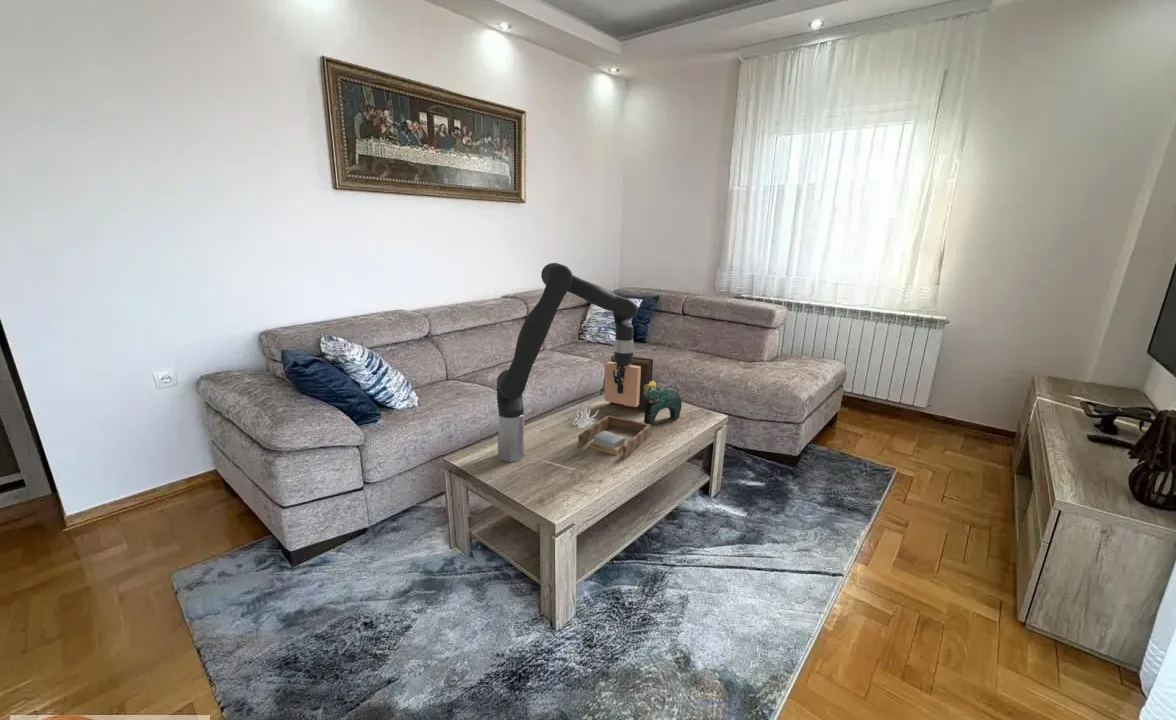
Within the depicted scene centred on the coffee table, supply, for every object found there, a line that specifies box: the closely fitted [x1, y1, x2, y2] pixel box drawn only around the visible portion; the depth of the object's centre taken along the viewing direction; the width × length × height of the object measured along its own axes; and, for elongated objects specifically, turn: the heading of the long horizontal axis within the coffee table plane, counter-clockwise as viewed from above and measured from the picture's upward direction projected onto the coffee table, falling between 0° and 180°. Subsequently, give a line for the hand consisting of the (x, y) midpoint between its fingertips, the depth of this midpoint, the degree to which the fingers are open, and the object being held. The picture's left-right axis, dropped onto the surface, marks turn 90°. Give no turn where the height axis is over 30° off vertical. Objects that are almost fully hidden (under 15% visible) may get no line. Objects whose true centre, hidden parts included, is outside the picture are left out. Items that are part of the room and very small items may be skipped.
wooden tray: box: [577, 414, 653, 460], centre depth 199 cm, size 25×20×5 cm
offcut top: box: [593, 430, 626, 449], centre depth 193 cm, size 7×10×2 cm
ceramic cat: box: [643, 379, 683, 426], centre depth 218 cm, size 20×6×20 cm, turn 119°
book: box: [609, 354, 657, 412], centre depth 233 cm, size 22×8×25 cm, turn 68°
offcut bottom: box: [589, 440, 628, 456], centre depth 194 cm, size 9×12×2 cm
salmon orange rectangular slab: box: [604, 360, 641, 407], centre depth 197 cm, size 3×14×16 cm, turn 61°
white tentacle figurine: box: [572, 404, 600, 429], centre depth 216 cm, size 9×12×9 cm
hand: (622, 391), depth 198 cm, fingers closed on salmon orange rectangular slab, 3 cm apart
